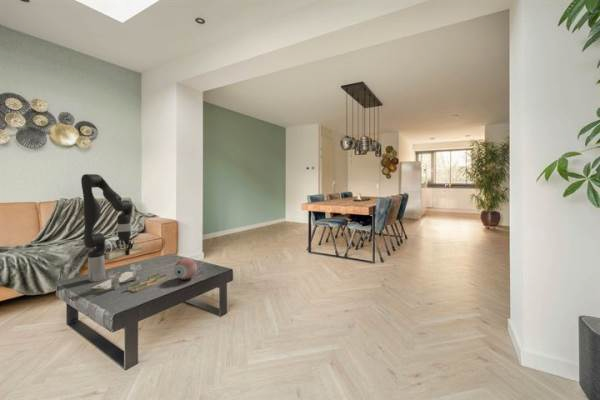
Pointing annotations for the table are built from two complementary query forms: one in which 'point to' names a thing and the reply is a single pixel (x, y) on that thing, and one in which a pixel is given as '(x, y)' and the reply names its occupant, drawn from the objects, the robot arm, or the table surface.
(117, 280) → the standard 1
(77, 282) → the table surface
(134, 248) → the rail
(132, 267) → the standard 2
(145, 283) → the rack
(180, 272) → the eyeball
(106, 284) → the baseboard
